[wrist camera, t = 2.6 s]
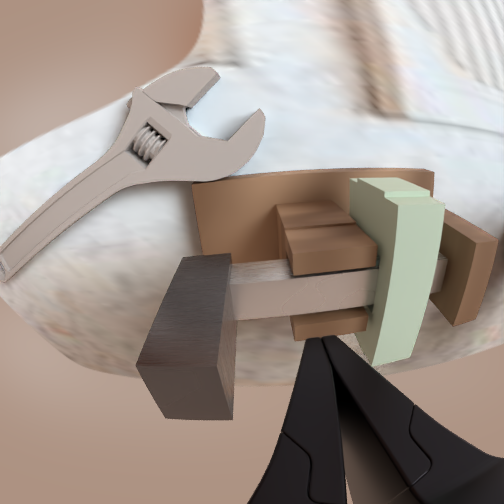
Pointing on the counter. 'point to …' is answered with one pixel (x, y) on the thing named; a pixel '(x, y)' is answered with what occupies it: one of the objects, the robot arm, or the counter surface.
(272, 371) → the counter surface
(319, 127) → the counter surface
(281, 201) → the stand
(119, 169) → the adjustable wrench
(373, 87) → the counter surface
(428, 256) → the spacer
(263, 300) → the shaft
